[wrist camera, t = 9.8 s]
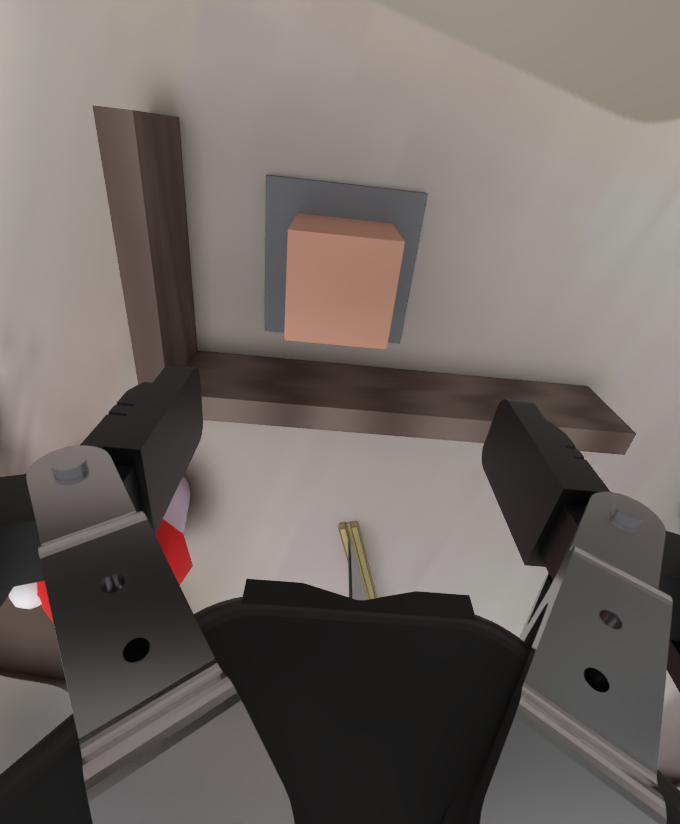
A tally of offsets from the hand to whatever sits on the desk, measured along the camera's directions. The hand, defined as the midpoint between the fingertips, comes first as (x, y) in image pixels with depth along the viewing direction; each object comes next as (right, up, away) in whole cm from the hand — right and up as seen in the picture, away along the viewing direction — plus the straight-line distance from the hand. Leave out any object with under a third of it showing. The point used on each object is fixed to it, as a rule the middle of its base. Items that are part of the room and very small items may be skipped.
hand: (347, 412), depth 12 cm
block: (0, +9, +15) cm, 17 cm away
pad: (0, +9, +15) cm, 18 cm away
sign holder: (+2, -18, +33) cm, 37 cm away
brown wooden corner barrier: (+4, +8, +16) cm, 18 cm away
